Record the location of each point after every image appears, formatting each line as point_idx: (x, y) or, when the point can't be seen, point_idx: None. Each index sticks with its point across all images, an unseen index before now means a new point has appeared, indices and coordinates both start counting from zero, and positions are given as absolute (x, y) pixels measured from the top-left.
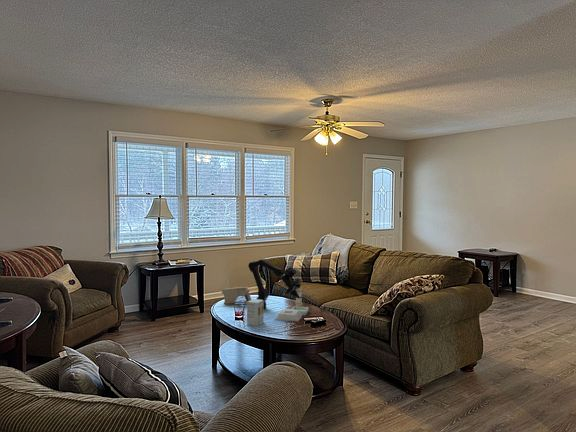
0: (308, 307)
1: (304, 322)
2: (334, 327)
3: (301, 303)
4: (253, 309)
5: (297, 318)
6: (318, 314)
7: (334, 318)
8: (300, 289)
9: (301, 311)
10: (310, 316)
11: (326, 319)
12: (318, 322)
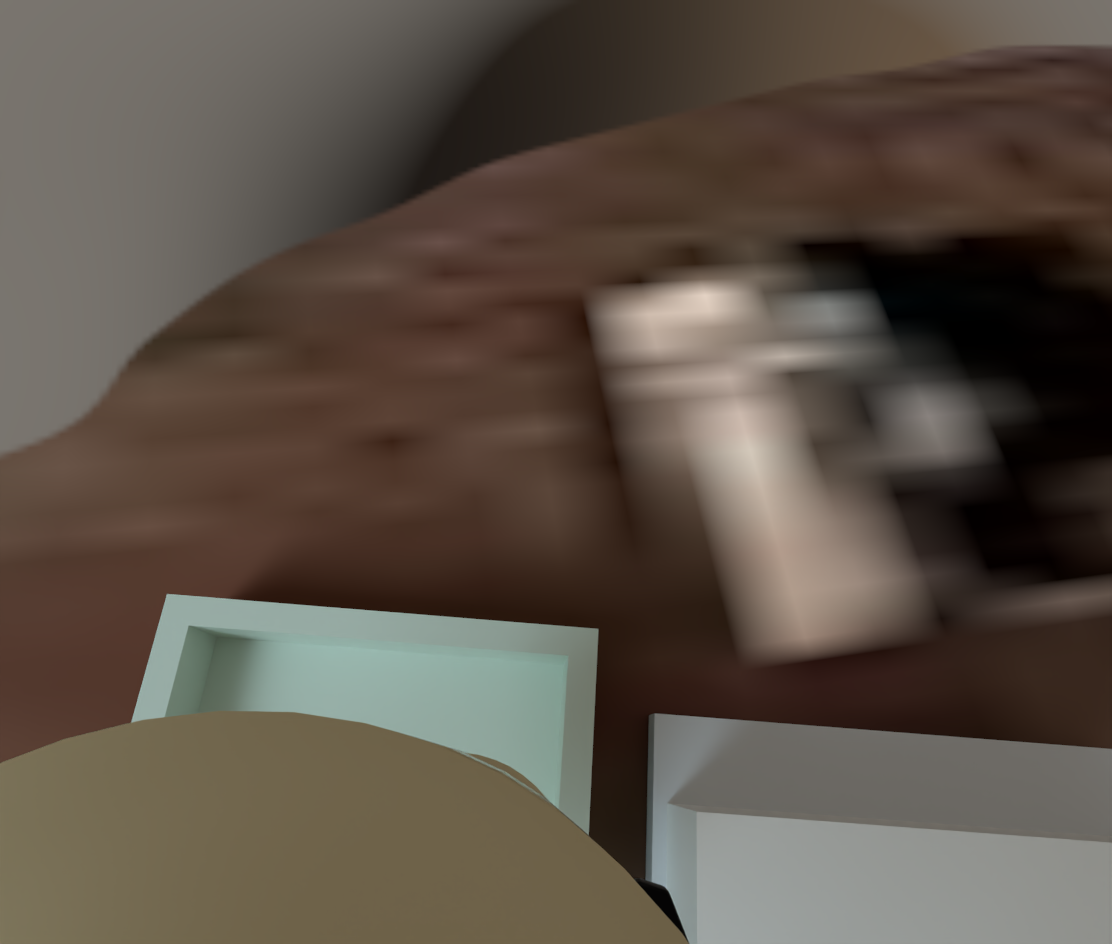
0: (173, 595)
1: (1082, 597)
2: (1100, 123)
3: (498, 761)
4: None
5: (997, 791)
6: (475, 376)
7: (668, 125)
8: (669, 930)
9: (591, 746)
10: (645, 520)
11: (757, 231)
12: (970, 343)
